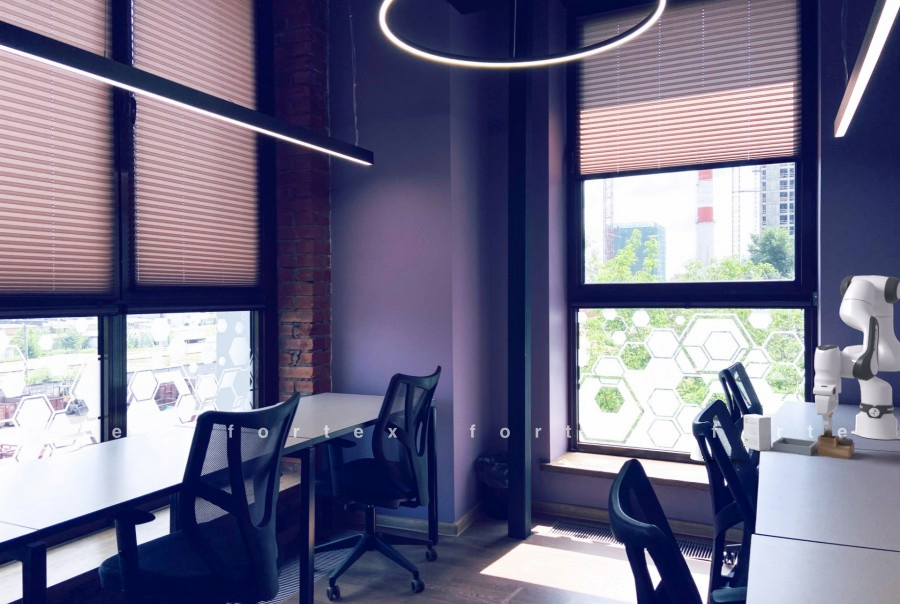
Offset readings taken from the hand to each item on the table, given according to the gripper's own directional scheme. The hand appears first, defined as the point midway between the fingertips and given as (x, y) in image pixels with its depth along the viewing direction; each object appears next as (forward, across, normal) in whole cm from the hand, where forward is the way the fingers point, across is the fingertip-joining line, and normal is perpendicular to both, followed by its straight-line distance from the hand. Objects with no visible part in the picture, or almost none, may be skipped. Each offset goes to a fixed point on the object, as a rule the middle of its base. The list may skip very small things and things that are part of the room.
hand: (827, 423), depth 247 cm
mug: (+12, +37, -35) cm, 52 cm away
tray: (+12, 0, -11) cm, 16 cm away
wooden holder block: (+12, -2, +2) cm, 12 cm away
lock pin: (+5, 0, 0) cm, 5 cm away
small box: (+12, +6, -24) cm, 27 cm away
